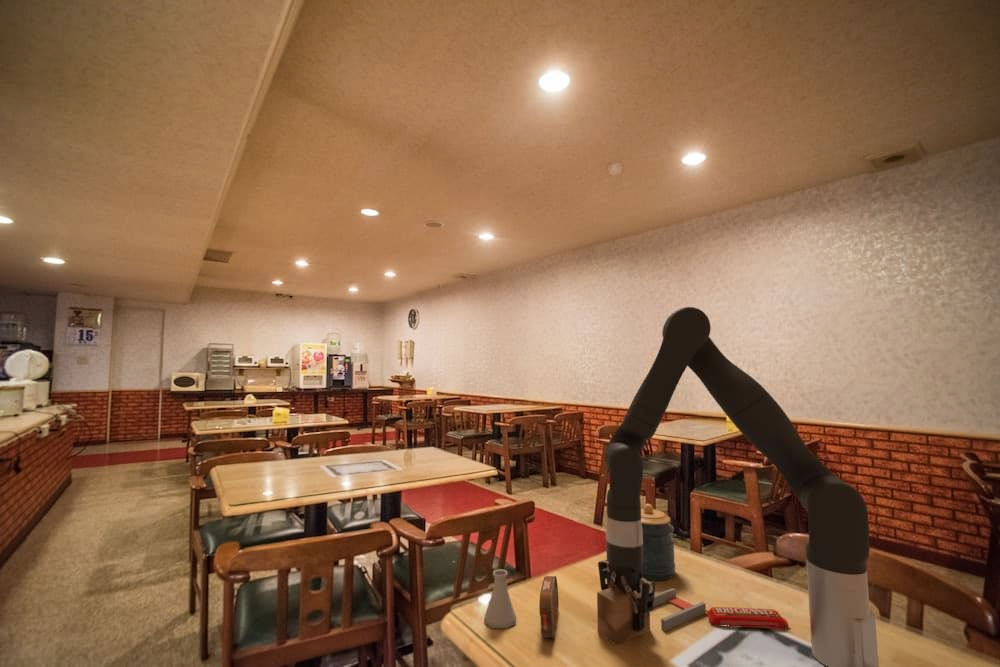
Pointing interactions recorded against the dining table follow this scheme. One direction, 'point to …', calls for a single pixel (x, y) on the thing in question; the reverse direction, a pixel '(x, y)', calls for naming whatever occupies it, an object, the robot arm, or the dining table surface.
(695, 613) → the channel
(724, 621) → the candy bar
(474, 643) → the dining table surface
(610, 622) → the block
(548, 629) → the tin
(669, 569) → the canister
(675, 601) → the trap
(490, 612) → the flask
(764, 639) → the dining table surface
